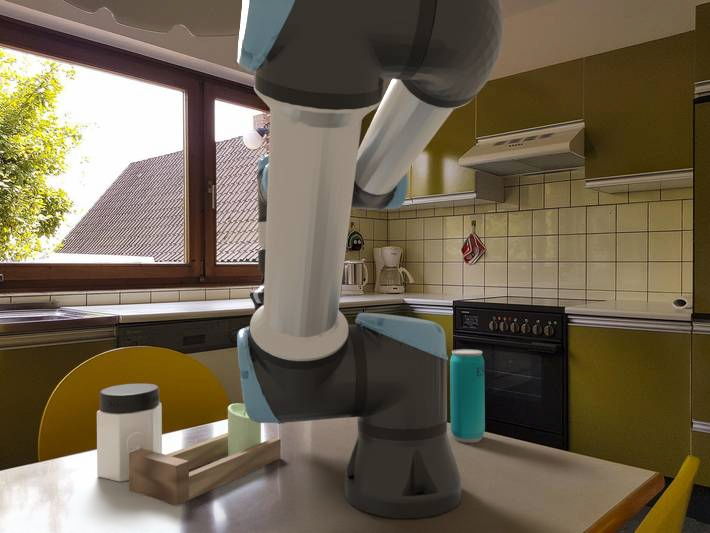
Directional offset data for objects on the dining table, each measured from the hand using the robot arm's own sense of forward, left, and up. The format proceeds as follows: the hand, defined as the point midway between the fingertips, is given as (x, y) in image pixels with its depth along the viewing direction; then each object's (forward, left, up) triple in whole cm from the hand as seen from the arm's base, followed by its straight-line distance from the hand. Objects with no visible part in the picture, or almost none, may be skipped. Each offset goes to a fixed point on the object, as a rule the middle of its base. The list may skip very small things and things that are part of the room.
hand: (281, 387), depth 94 cm
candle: (0, +9, -10) cm, 13 cm away
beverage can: (-26, -18, -10) cm, 33 cm away
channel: (0, +15, -9) cm, 18 cm away
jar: (+11, +22, -10) cm, 26 cm away
